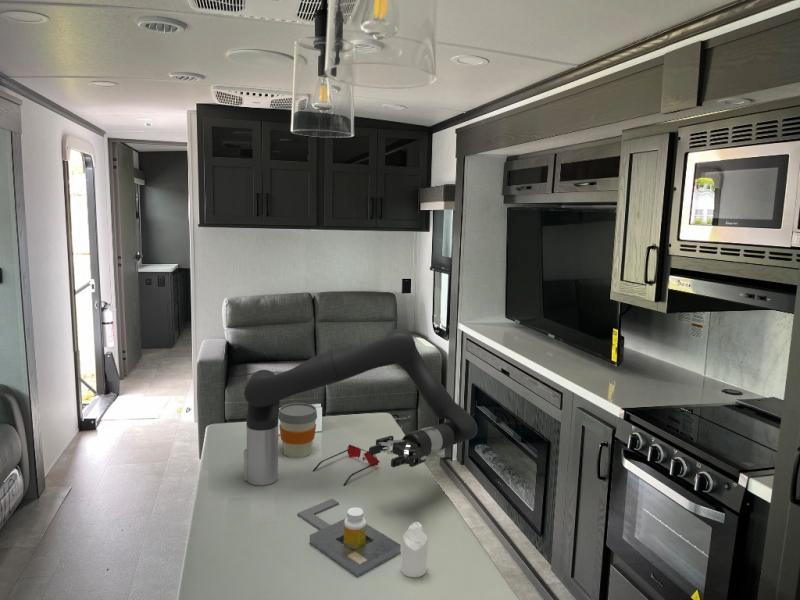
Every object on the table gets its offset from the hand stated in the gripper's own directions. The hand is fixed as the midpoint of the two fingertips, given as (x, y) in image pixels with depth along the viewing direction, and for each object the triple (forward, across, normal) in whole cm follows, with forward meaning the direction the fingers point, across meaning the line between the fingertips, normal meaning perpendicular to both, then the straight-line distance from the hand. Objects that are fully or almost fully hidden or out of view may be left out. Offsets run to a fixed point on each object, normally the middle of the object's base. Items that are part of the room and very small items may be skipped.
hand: (380, 457), depth 158 cm
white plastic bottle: (+7, +21, +18) cm, 29 cm away
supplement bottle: (+12, +5, +19) cm, 23 cm away
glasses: (-14, -29, +20) cm, 37 cm away
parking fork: (+6, -10, +19) cm, 22 cm away
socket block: (+12, +5, +19) cm, 23 cm away
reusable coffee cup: (-10, -49, +20) cm, 54 cm away
